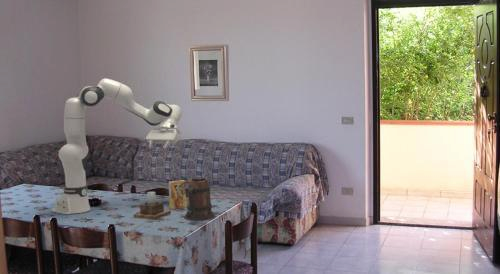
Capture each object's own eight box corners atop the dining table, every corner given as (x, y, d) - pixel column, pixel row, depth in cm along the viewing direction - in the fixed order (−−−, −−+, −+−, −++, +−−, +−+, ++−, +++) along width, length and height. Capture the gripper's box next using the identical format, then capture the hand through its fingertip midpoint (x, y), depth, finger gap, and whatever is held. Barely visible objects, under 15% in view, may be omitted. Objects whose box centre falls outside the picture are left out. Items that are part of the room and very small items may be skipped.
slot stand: (133, 217, 295) (133, 205, 295) (149, 211, 308) (149, 199, 307) (155, 219, 289) (154, 207, 288) (170, 213, 301) (170, 201, 301)
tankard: (190, 212, 303) (189, 176, 301) (220, 213, 298) (218, 177, 296) (173, 223, 280) (171, 184, 278) (204, 225, 276) (203, 185, 274)
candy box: (183, 206, 319) (182, 179, 317) (186, 207, 315) (185, 180, 314) (169, 208, 314) (168, 181, 313) (172, 209, 311) (171, 182, 309)
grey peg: (146, 213, 297) (145, 193, 296) (151, 211, 301) (150, 191, 300) (152, 213, 295) (151, 193, 294) (157, 212, 299) (156, 191, 298)
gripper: (149, 125, 323) (139, 143, 315) (178, 125, 313) (169, 145, 306) (154, 132, 327) (145, 150, 319) (183, 132, 318) (174, 151, 310)
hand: (157, 147), depth 313 cm, fingers open, 8 cm apart
